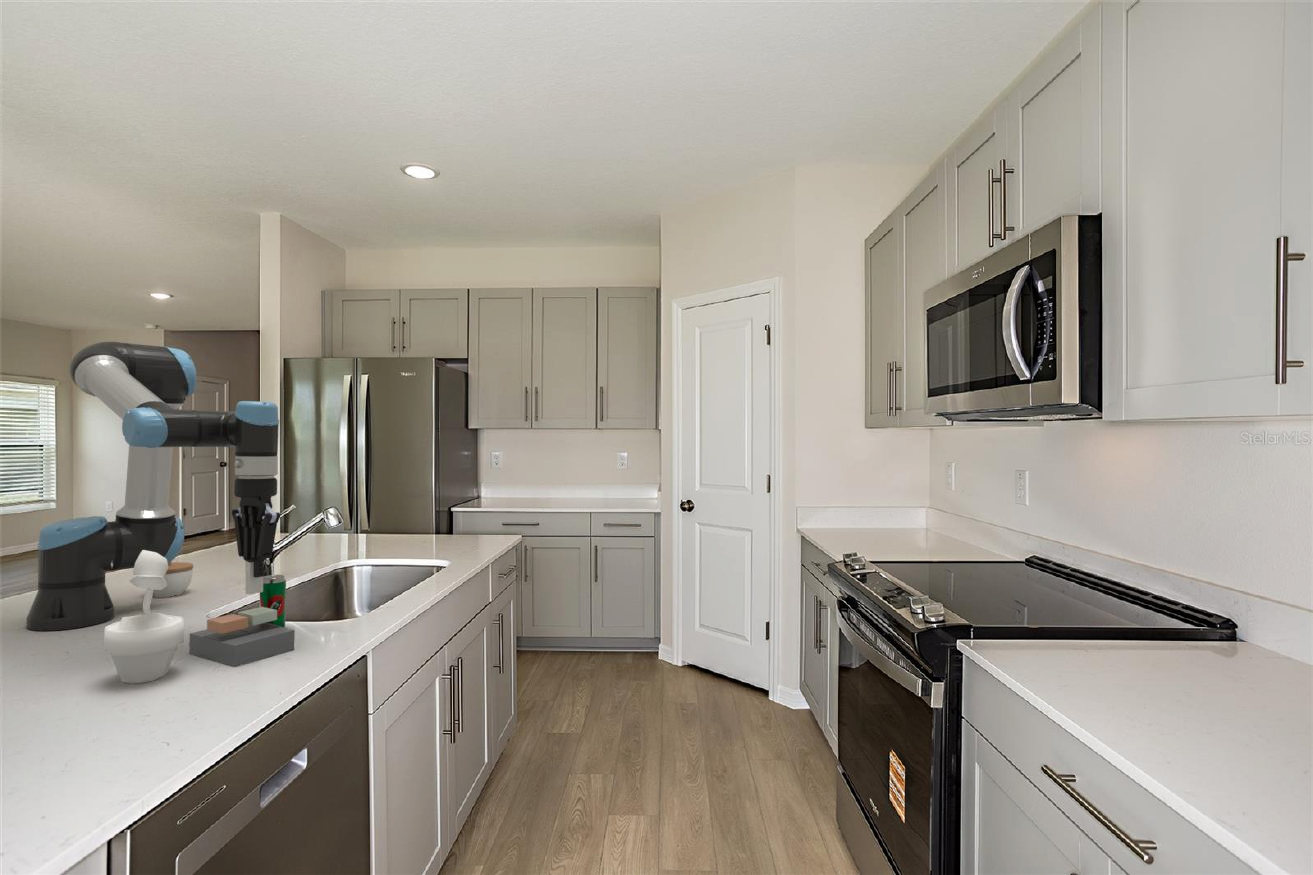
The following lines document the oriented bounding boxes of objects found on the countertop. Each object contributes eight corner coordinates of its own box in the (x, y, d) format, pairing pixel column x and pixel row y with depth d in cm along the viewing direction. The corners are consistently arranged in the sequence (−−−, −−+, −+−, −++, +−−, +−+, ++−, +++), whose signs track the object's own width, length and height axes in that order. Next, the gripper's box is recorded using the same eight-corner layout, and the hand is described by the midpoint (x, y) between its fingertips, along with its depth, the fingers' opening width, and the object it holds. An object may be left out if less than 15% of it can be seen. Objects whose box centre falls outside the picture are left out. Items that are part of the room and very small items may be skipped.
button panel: (189, 653, 134) (189, 632, 134) (249, 638, 144) (249, 618, 144) (234, 666, 127) (234, 644, 127) (294, 649, 137) (294, 629, 137)
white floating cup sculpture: (113, 671, 123) (116, 535, 123) (190, 663, 128) (192, 532, 128) (89, 696, 112) (91, 545, 112) (173, 687, 116) (176, 542, 116)
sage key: (238, 621, 137) (238, 612, 137) (262, 616, 142) (262, 606, 142) (252, 625, 135) (253, 615, 135) (276, 619, 139) (277, 610, 139)
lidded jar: (202, 592, 184) (202, 558, 184) (161, 601, 174) (161, 565, 174) (175, 588, 188) (175, 555, 188) (133, 597, 178) (134, 561, 178)
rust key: (206, 629, 132) (207, 619, 132) (233, 623, 136) (233, 613, 136) (221, 633, 130) (222, 623, 130) (247, 627, 134) (248, 617, 134)
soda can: (290, 627, 153) (291, 574, 153) (275, 634, 148) (276, 579, 148) (269, 626, 153) (270, 573, 153) (253, 633, 148) (254, 578, 148)
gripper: (218, 476, 137) (216, 592, 137) (257, 479, 131) (254, 600, 131) (255, 475, 144) (253, 585, 144) (293, 477, 138) (291, 593, 138)
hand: (254, 592), depth 137 cm, fingers closed
